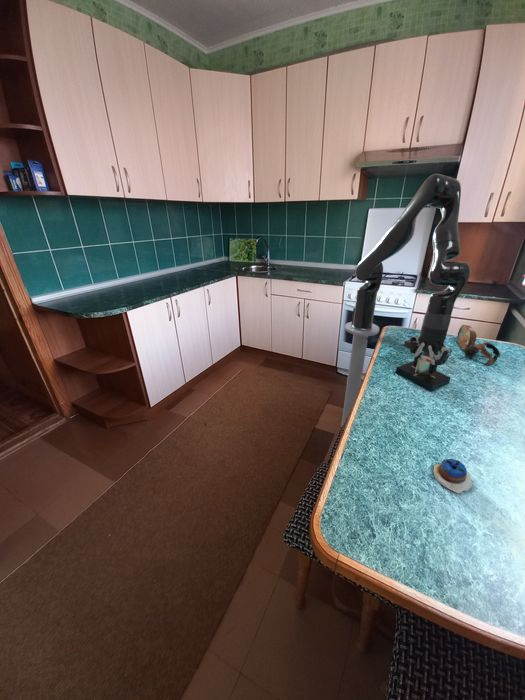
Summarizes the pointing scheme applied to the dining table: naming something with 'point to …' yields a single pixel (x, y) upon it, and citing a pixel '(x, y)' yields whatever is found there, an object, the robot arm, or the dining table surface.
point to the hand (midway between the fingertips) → (423, 369)
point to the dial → (423, 365)
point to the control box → (423, 377)
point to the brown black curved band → (483, 352)
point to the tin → (466, 336)
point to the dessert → (453, 475)
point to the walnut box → (407, 344)
